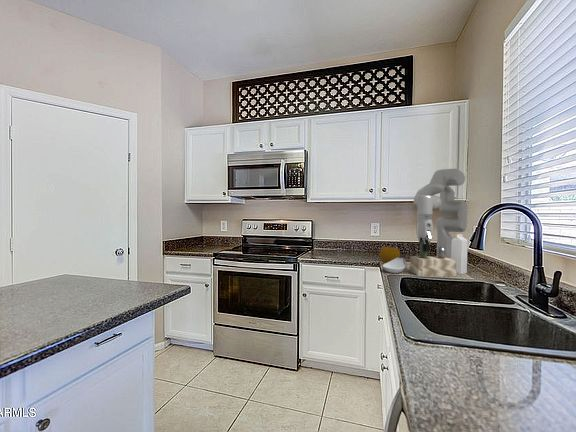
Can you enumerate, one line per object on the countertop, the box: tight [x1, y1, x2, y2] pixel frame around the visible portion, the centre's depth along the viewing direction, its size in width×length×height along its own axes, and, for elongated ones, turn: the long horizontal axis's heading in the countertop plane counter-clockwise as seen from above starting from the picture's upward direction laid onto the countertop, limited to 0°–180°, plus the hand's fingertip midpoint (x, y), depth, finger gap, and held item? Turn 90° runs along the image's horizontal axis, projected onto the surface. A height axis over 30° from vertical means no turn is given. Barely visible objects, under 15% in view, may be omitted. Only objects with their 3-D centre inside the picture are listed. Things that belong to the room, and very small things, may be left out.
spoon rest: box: [382, 257, 408, 274], centre depth 174 cm, size 24×12×7 cm, turn 143°
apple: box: [378, 246, 401, 264], centre depth 197 cm, size 13×13×11 cm
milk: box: [451, 233, 469, 275], centre depth 172 cm, size 6×6×22 cm
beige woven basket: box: [409, 247, 457, 277], centre depth 166 cm, size 20×11×15 cm, turn 90°
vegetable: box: [419, 239, 428, 259], centre depth 166 cm, size 4×4×20 cm
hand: (423, 250), depth 166 cm, fingers closed on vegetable, 4 cm apart
